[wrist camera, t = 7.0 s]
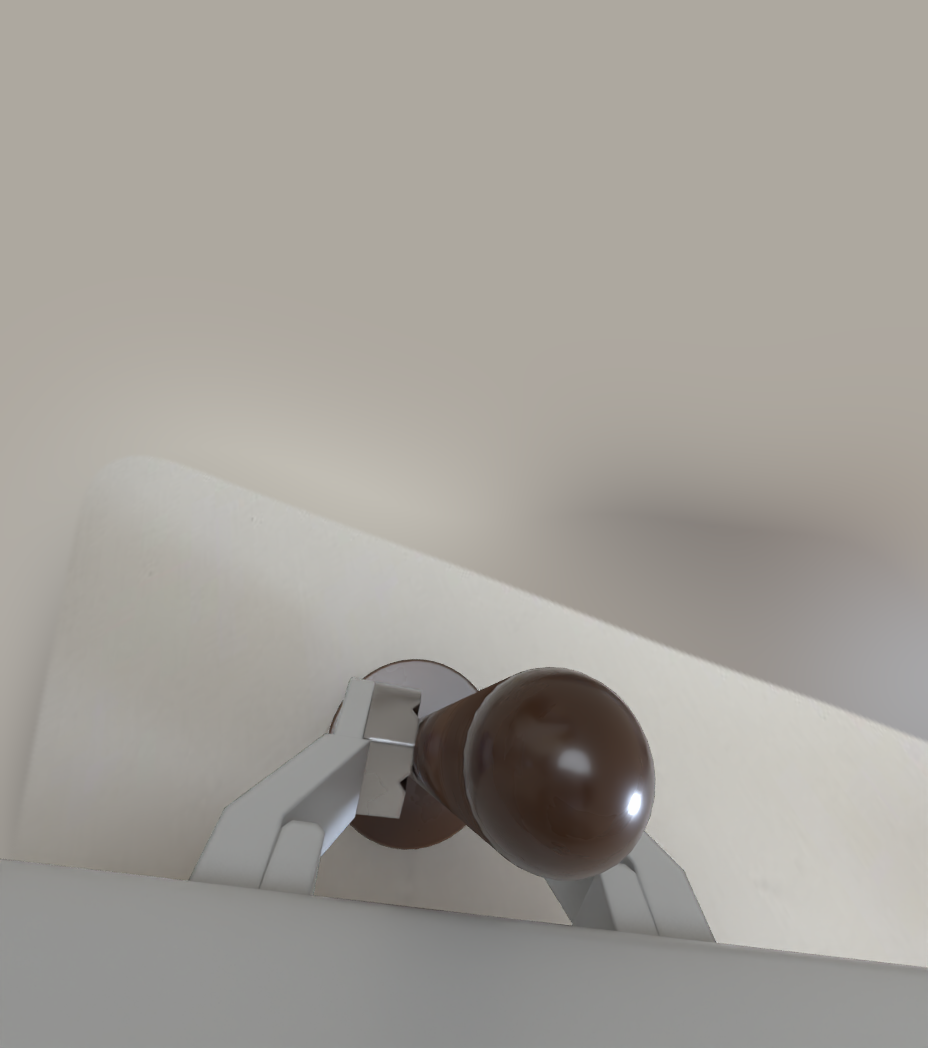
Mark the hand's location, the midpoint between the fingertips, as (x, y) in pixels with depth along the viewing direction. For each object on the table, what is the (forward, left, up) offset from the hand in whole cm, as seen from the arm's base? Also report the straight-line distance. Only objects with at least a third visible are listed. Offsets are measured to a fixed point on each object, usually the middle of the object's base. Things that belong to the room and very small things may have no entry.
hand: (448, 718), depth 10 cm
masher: (0, -1, -9) cm, 9 cm away
